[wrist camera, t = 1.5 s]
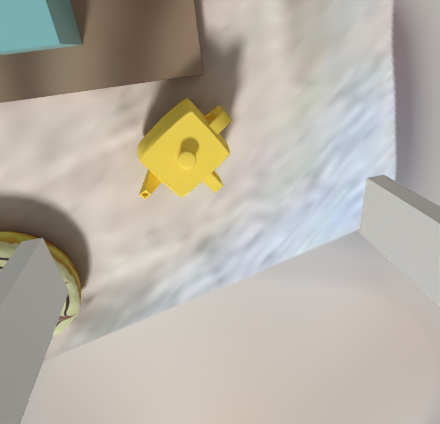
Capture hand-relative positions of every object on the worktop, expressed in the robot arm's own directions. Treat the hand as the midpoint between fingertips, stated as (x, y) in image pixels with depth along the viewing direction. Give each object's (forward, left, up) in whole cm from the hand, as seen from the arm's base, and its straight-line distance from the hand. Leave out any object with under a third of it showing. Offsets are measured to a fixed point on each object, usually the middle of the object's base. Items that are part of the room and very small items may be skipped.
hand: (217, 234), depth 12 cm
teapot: (0, 0, -13) cm, 13 cm away
